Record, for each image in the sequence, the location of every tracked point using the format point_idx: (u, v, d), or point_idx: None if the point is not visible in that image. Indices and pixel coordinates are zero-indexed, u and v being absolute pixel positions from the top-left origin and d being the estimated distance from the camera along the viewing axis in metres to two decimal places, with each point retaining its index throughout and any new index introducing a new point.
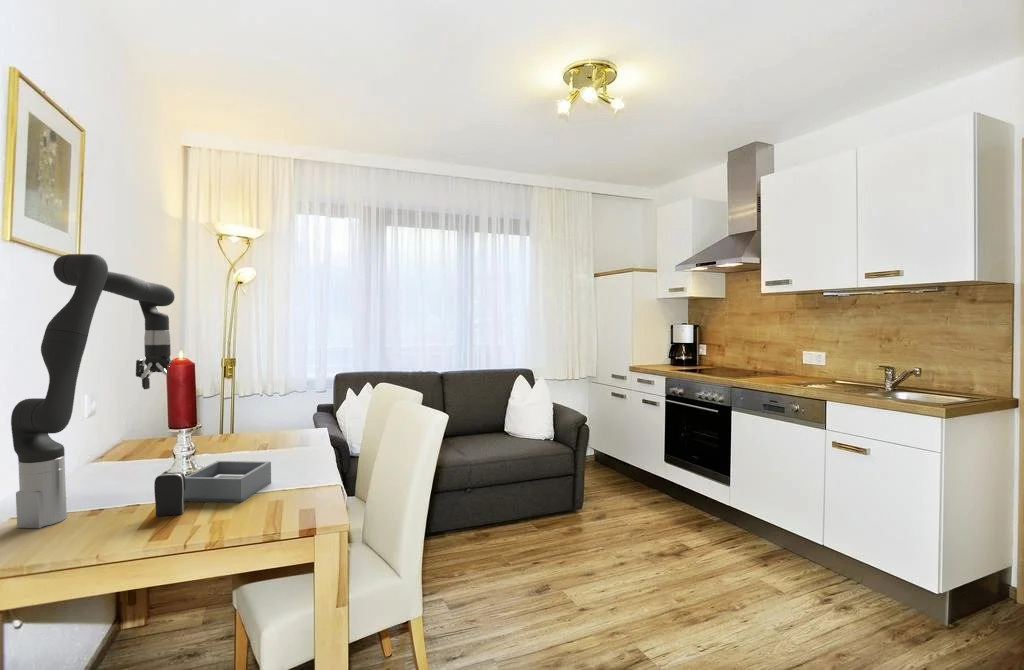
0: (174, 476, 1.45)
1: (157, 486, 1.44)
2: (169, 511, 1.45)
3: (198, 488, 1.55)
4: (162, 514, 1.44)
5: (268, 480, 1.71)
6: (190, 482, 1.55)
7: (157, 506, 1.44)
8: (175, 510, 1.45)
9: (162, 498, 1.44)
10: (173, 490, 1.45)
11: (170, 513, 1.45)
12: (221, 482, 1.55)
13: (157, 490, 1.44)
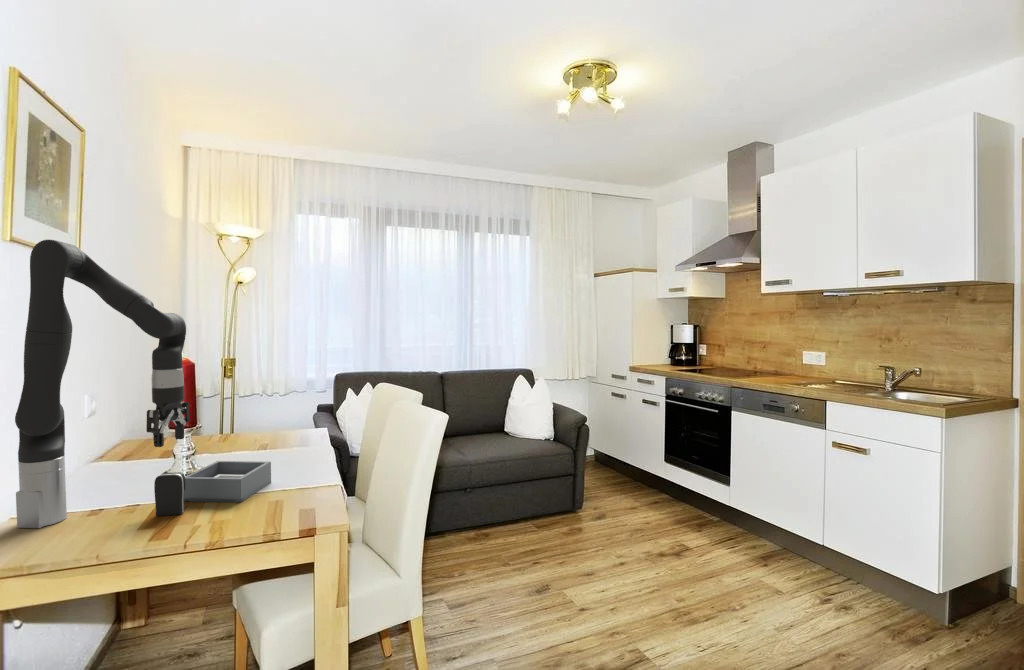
0: (174, 476, 1.45)
1: (157, 486, 1.44)
2: (169, 511, 1.45)
3: (198, 488, 1.55)
4: (162, 514, 1.44)
5: (268, 480, 1.71)
6: (190, 482, 1.55)
7: (157, 506, 1.44)
8: (175, 510, 1.45)
9: (162, 498, 1.44)
10: (173, 490, 1.45)
11: (170, 513, 1.45)
12: (221, 482, 1.55)
13: (157, 490, 1.44)
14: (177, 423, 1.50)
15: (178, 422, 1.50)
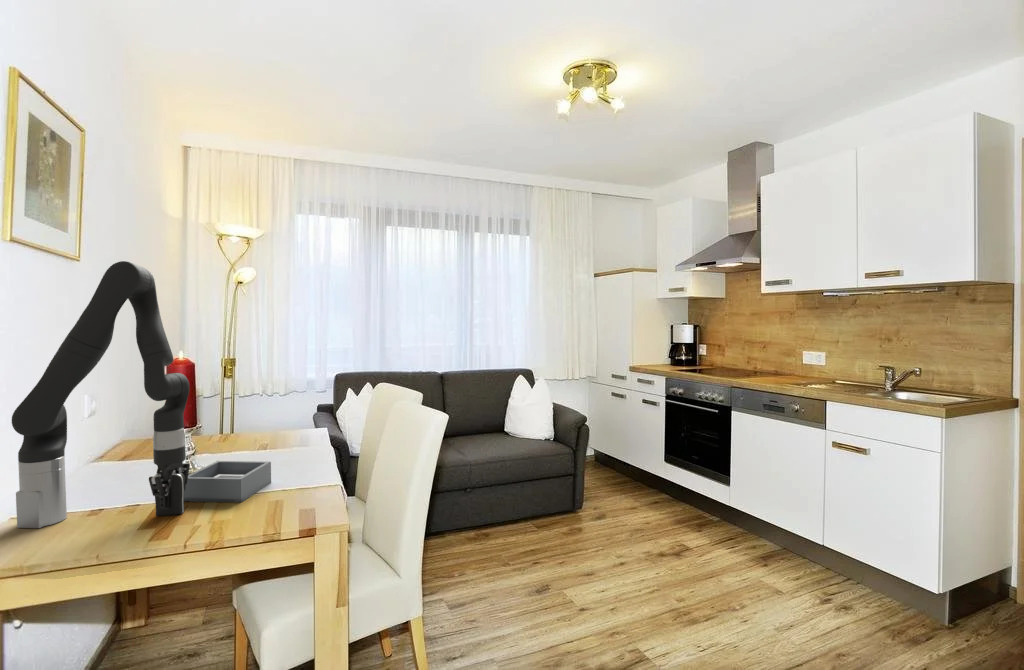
0: (174, 476, 1.45)
1: None
2: (169, 511, 1.45)
3: (198, 488, 1.55)
4: (162, 514, 1.44)
5: (268, 480, 1.71)
6: (190, 482, 1.55)
7: (157, 506, 1.44)
8: (175, 510, 1.45)
9: None
10: (173, 490, 1.45)
11: (170, 513, 1.45)
12: (221, 482, 1.55)
13: (157, 490, 1.44)
14: None
15: None
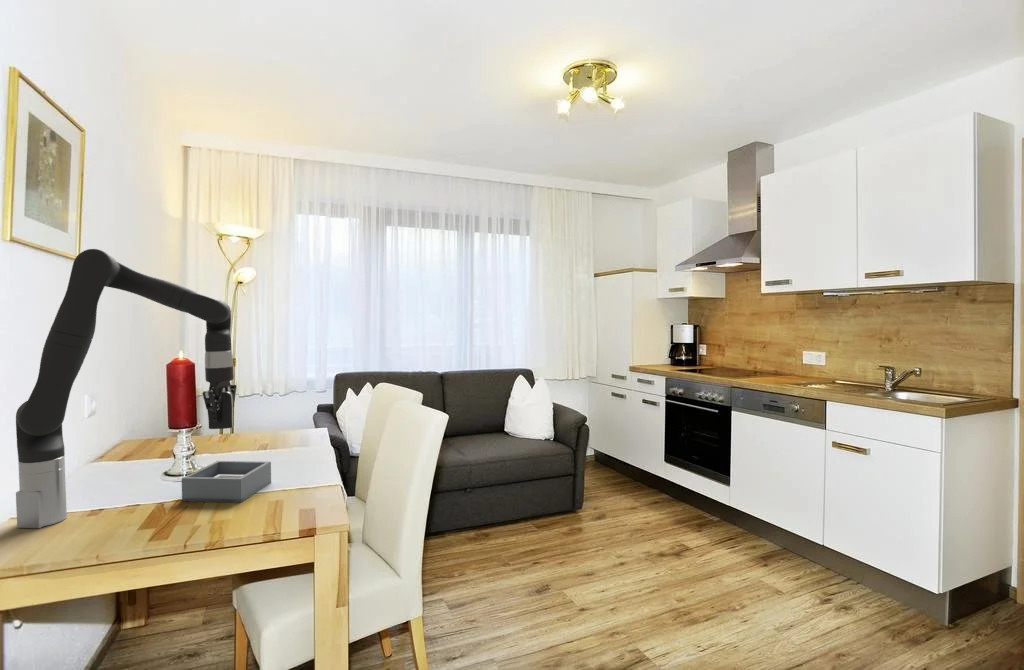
0: (224, 393, 1.59)
1: None
2: (220, 425, 1.59)
3: (198, 488, 1.55)
4: (214, 427, 1.59)
5: (268, 480, 1.71)
6: (190, 482, 1.55)
7: (210, 420, 1.58)
8: (226, 424, 1.59)
9: None
10: (224, 406, 1.59)
11: (221, 427, 1.59)
12: (221, 482, 1.55)
13: None
14: None
15: None
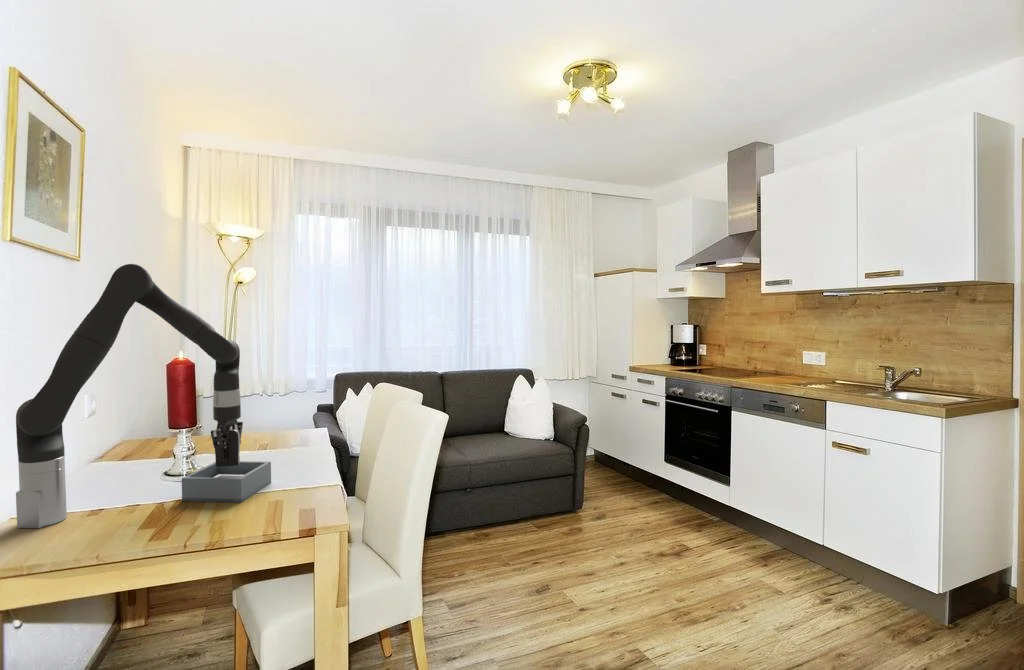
0: (231, 431, 1.62)
1: None
2: (227, 462, 1.62)
3: (198, 488, 1.55)
4: (221, 465, 1.62)
5: (268, 480, 1.71)
6: (190, 482, 1.55)
7: (217, 458, 1.62)
8: (232, 462, 1.63)
9: None
10: (231, 444, 1.62)
11: (228, 464, 1.62)
12: (221, 482, 1.55)
13: (217, 443, 1.61)
14: None
15: None
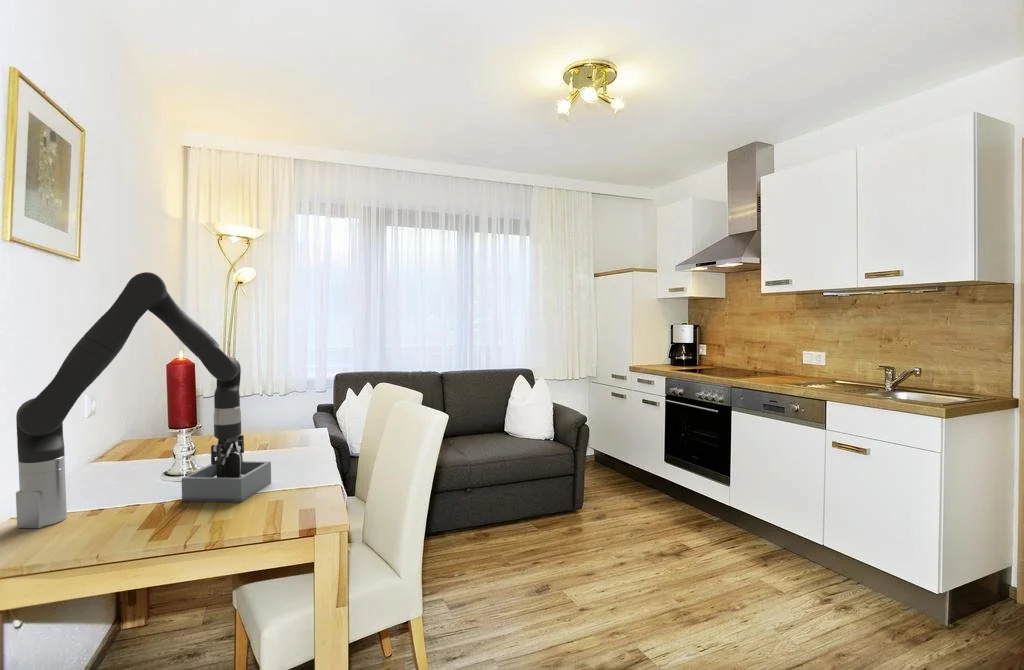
0: (233, 454, 1.63)
1: None
2: None
3: (198, 488, 1.55)
4: None
5: (268, 480, 1.71)
6: (190, 482, 1.55)
7: None
8: None
9: None
10: (232, 466, 1.63)
11: None
12: (221, 482, 1.55)
13: None
14: None
15: None
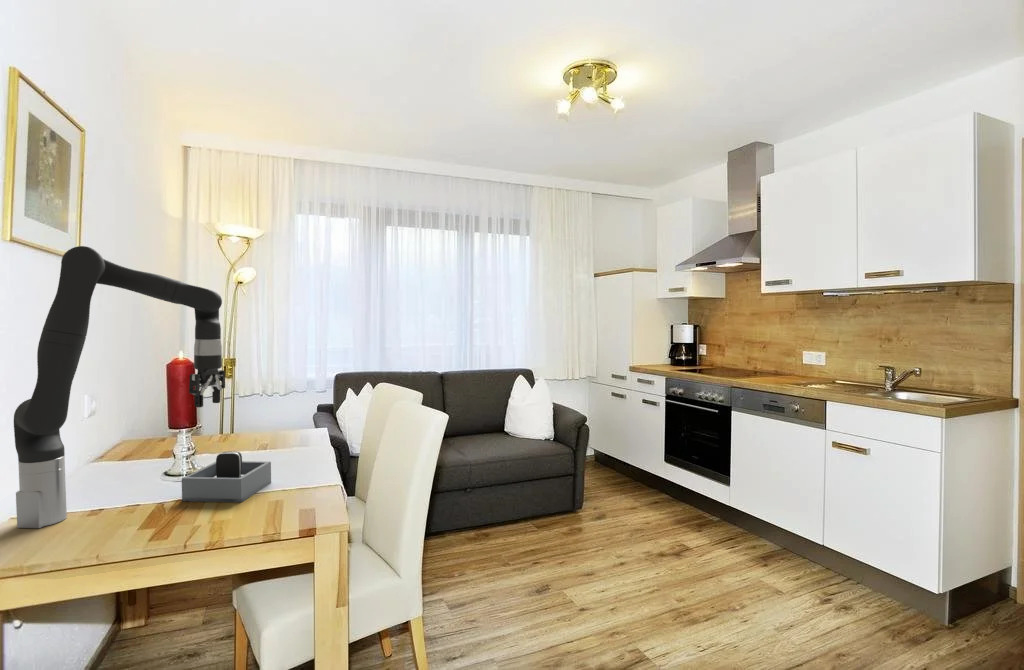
0: (232, 454, 1.63)
1: (218, 463, 1.62)
2: None
3: (198, 488, 1.55)
4: None
5: (268, 480, 1.71)
6: (190, 482, 1.55)
7: None
8: None
9: (222, 474, 1.63)
10: (232, 467, 1.63)
11: None
12: (221, 482, 1.55)
13: (218, 466, 1.62)
14: (214, 388, 1.69)
15: (215, 388, 1.69)
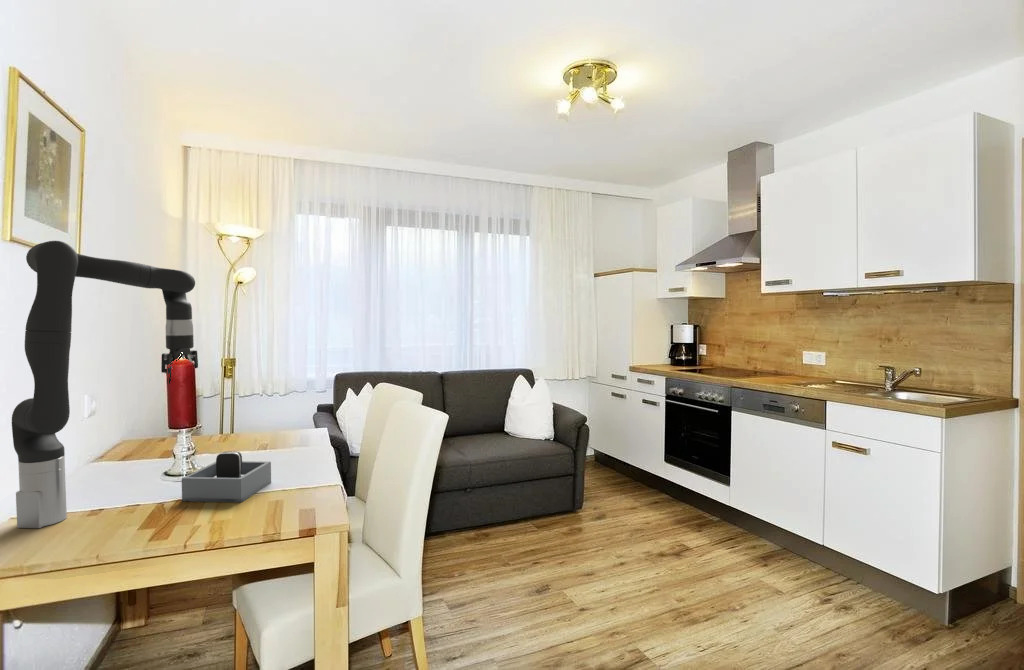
0: (232, 454, 1.63)
1: (218, 463, 1.62)
2: None
3: (198, 488, 1.55)
4: None
5: (268, 480, 1.71)
6: (190, 482, 1.55)
7: None
8: None
9: (222, 474, 1.63)
10: (232, 467, 1.63)
11: None
12: (221, 482, 1.55)
13: (218, 466, 1.62)
14: None
15: None
